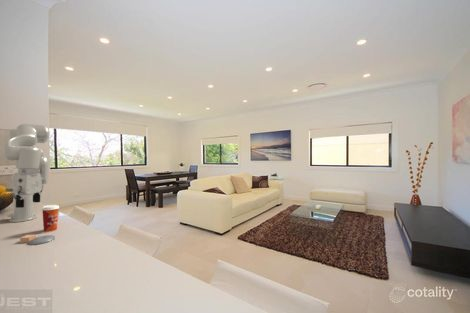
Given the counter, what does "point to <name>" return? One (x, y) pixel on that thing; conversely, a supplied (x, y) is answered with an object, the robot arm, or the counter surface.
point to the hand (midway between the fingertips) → (28, 204)
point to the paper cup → (50, 217)
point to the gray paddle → (36, 239)
